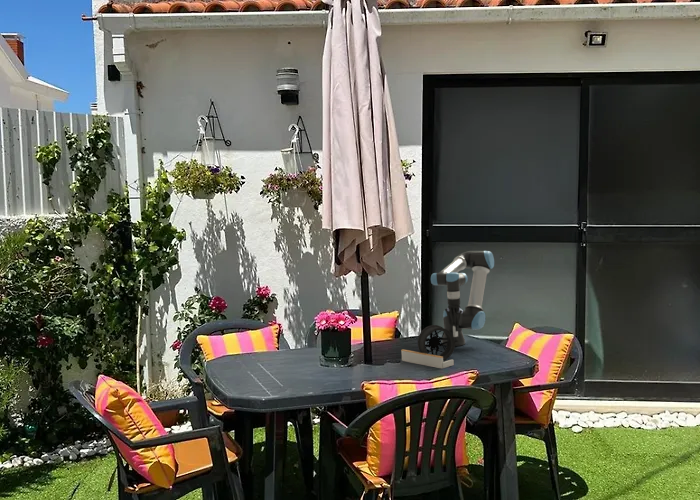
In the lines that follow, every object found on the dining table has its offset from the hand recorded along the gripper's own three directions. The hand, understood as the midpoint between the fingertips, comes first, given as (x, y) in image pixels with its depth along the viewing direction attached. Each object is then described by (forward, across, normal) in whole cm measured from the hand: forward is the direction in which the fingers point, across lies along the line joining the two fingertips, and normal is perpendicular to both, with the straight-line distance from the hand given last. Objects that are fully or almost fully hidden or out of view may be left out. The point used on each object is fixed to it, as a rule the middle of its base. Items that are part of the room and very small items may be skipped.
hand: (455, 336), depth 392 cm
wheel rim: (+11, 0, -18) cm, 21 cm away
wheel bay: (+10, 0, -27) cm, 29 cm away
